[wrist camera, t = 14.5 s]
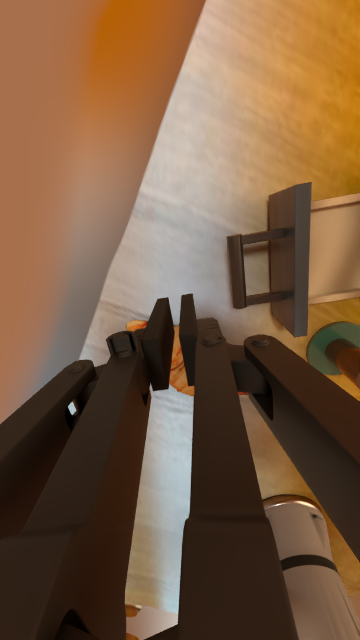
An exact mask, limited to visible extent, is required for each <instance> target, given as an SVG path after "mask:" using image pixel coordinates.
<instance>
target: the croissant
mask: <svg viewBox="0 0 360 640" xmlns="http://www.w3.org/2000/svg"><path fill="white" fill-rule="evenodd" d="M147 323H148V322H147V321H140V320H134V321H130V322H128V323H127V324H126V330H127V331H133V332H134V331H135V330H136V329H141V328H146V326H147ZM174 330H175V336H174V345H173V354H172V362H171V371H170V380H169V383H170V385H172V386H173V387H174V388H175V389H177V391H179V392H182V393H185V394H188V395H190V396H194V386H190V387H188V383H187V378H186V372H185V367H184V362H183V356H182V351H181V346H180V340H179V326H175V327H174ZM243 394H244V395H248V393H244V392H238V395H243Z"/></svg>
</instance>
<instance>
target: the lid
mask: <svg viewBox="0 0 360 640" xmlns="http://www.w3.org/2000/svg"><path fill="white" fill-rule="evenodd" d="M306 354H307V359H308V362H309V364H310V365H312V366H313V367H314V368H316V369H317V370H318V371H320V372H321V373H322V374H326V375H339V374H344V375H345V376H346V377H347V378H348V379H349V380H350V381H351V382H352V383H354V384H355V385H356V386H357V387H358V388H359V389H360V326H359V325H357V324H355V323H351V322H335V323H332V324H329V325H327V326H325V327H323V328H321V329H320V330H319V331H318V332H316V333H315V334H314V336H313V337H312V338H311V340H310V341H309V344H308V346H307V352H306Z"/></svg>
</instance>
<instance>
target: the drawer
mask: <svg viewBox="0 0 360 640" xmlns="http://www.w3.org/2000/svg"><path fill="white" fill-rule="evenodd" d="M311 188H312V182H309V183H303V184H298V185H294V186H292V187H289V188H287V189H284V190H282V191H279V192H277V193H274V194H272V195H269V222H270V230H269V231H263V232H257V233H251V234H246V235H242V234H236V235H231V236H227V248H228V259H229V270H230V281H231V291H232V302H233V308H235V309H242V308H245V307H247V305H253V304H260V303H267V302H272V315H273V316H274V317H275V318H276V319H277V320H278V321H279V322H280V323H281V324H282V325H283V326H284V327H285V328H286V329H287V330H288V331H289V332H290V333H291V334H292V335H293V336H294V337H300V336H307V328H308V305H309V304H316V303H322V302H329V301H336V300H343V299H350V298H357V297H360V193H357V194H351V195H346V196H340V197H335V198H329V199H324V200H318V201H313V202H311ZM267 240H270V256H271V290H272V292H269V293H263V294H256V295H249V296H246V285H245V271H244V256H243V244H249V243H255V242H261V241H267Z"/></svg>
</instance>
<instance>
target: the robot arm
mask: <svg viewBox="0 0 360 640" xmlns="http://www.w3.org/2000/svg"><path fill="white" fill-rule="evenodd" d="M174 336H175V330H174V325H173V320H172V315H171V309H170V304H169V299H168V297H167V298H161V299H157V302H156V304H155V306H154V309H153V311H152V314H151V316H150V318H149V321H148V323H147V326H146V328H141V329H136V330H135V331H134V332H133V331H122V332H118V333H115V334H113V335H111V336H109V337H108V338H107V339H106V341H107V345H108V348H109V351H110V354H111V356H110V358H109V360H108V362H107V364H104V365H101V366H97V367H94V364H93V362H92V361H91V360H79V361H75V362H73V363H72V364H70V365H69V366H67V367H66V368H64V369H63V370H62V371H61V372H60V373H59V374H58V375H56V376H55V377H54V378H53V379H52V380H51V381H49V382H48V383H47V384H46V385H45V386H44V387H43V388H41V389H40V390H39V391H38V392H37V393H36V394H34V395H33V396H32V397H31V398H30V399H29V400H28V401H26V402H25V403H24V404H23V405H22V406H21V407H20V408H18V409H17V410H16V411H15V412H14V413H13V414H12V415H11V416H9V417H8V418H7V419H6V420H5V421H4V422H2V423H1V424H0V640H126V612H125V587H126V579H127V571H128V564H129V557H130V550H131V542H132V535H133V528H134V520H135V513H136V506H137V498H138V491H139V484H140V477H141V469H142V462H143V455H144V447H145V440H146V433H147V426H148V418H149V411H150V404H151V393H150V389H149V387H150V383H151V385H152V389H153V391H157V390H165V389H168V388H169V380H170V371H171V362H172V354H173V345H174ZM179 340H180V346H181V351H182V356H183V362H184V367H185V372H186V378H187V383H188V387H190V386H194V410H193V438H192V467H191V496H190V514H189V518H188V519H186V520H185V525H184V530H183V542H182V558H181V576H180V594H179V612H178V624H177V625H175V626H173V627H171V628H169V629H167V630H164V631H162V632H160V633H158V634H155V635H153V636H151V637H149V638H147V639H145V640H360V620H359V618H358V616H357V614H356V612H355V609H354V607H353V605H352V602H351V600H350V598H349V596H348V593H347V591H346V589H345V587H344V584H343V582H342V580H341V578H340V575H339V573H338V571H337V569H336V566H335V564H334V562H333V558H332V553H331V547H330V542H329V537H328V531H327V526H326V522H325V518H324V516H323V514H322V512H321V510H320V508H319V506H318V505H317V504H316V503H315V502H313V501H312V500H310V499H307V498H305V497H301V496H296V495H282V496H276V497H272V498H269V499H266V500H264V501H262V498H261V493H260V489H259V484H258V480H257V475H256V471H255V467H254V462H253V458H252V453H251V449H250V445H249V440H248V436H247V431H246V427H245V422H244V418H243V414H242V409H241V405H240V400H239V396H238V392H244V393H248V396H249V399H250V400H251V402H252V403H253V404H254V406H255V407H256V409H257V410H258V412H259V413H260V415H261V416H262V418H263V419H264V421H265V422H266V424H267V425H268V427H269V428H270V430H271V431H272V433H273V434H274V436H275V437H276V439H277V440H278V442H279V443H280V445H281V446H282V448H283V449H284V450H285V452H286V453H287V455H288V456H289V458H290V459H291V461H292V462H293V464H294V465H295V467H296V468H297V470H298V471H299V473H300V474H301V476H302V477H303V479H304V480H305V482H306V483H307V485H308V486H309V488H310V489H311V491H312V492H313V494H314V495H315V496H316V498H317V499H318V501H319V502H320V504H321V505H322V507H323V508H324V510H325V511H326V513H327V514H328V516H329V517H330V519H331V520H332V522H333V523H334V525H335V526H336V528H337V529H338V531H339V532H340V534H341V535H342V537H343V538H344V540H345V541H346V542H347V544H348V545H349V547H350V548H351V550H352V551H353V553H354V554H355V556H356V557H357V559H358V560H359V562H360V402H359V401H358V400H357V399H355V398H354V397H353V396H351V395H350V394H349V393H347V392H346V391H345V390H343V389H342V388H341V387H339V386H338V385H337V384H335V383H334V382H333V381H331V380H330V379H329V378H327V377H326V376H325V375H323V374H322V373H321V372H320V371H318V370H317V369H316V368H314V367H313V366H312V365H310V364H309V363H308V362H306V361H305V360H304V359H302V358H301V357H300V356H298V355H297V354H296V353H294V352H293V351H292V350H290V349H289V348H288V347H286V346H285V345H284V344H282V343H281V342H280V341H278V340H277V339H276V338H274V337H272V336H267V335H255V336H251V337H248V338H247V339H245V341H244V346H242V345H232V344H229V343H226V339H225V338H224V337H223V336H222V334H221V331H220V328H219V325H218V321H217V320H216V319H214V318H213V317H212V318H205V319H198V320H197V319H196V313H195V306H194V300H193V294H186V295H182V298H181V311H180V323H179ZM72 401H73V403H74V406H75V408H76V410H77V411H76V412H75V413H74V414H73V415H71V413H70V411H69V409H68V405H69V404H70V403H71V402H72Z"/></svg>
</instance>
